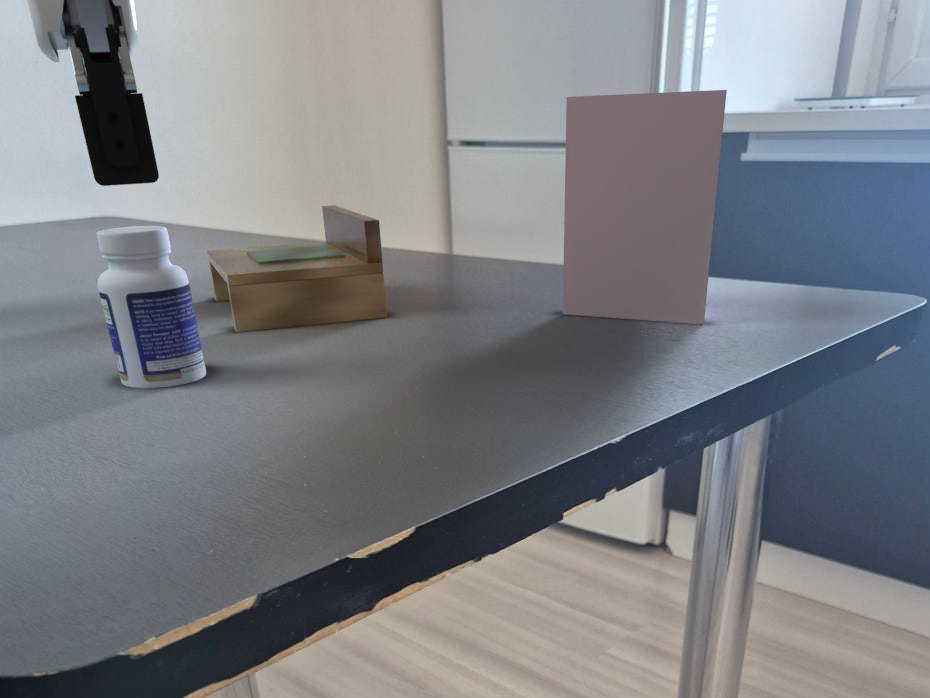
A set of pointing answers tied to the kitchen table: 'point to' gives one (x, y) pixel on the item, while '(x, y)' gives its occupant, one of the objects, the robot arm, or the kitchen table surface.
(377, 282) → the shelf
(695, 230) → the greeting card
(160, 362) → the pill bottle
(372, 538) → the kitchen table surface
